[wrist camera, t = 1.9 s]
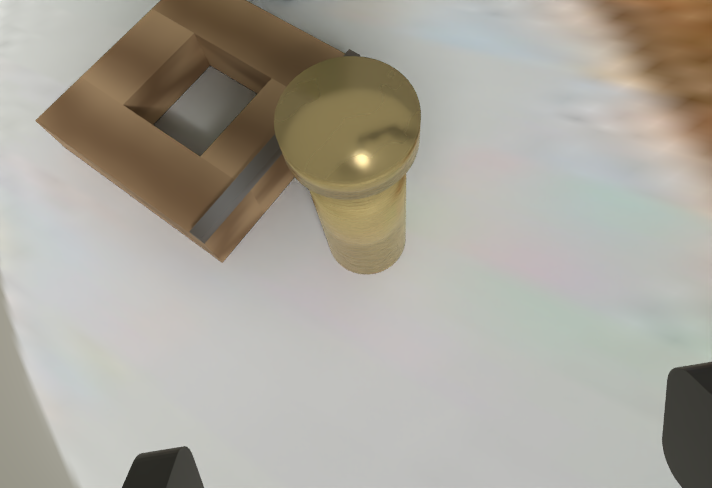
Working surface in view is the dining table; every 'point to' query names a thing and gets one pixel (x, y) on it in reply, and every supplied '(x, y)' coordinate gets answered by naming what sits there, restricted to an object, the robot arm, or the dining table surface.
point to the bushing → (353, 154)
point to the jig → (163, 88)
